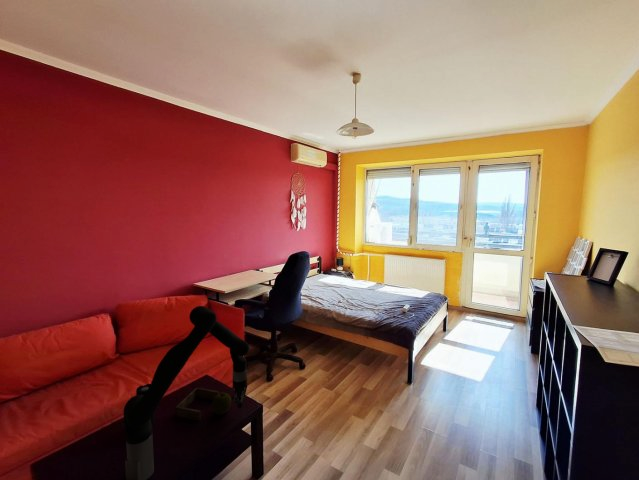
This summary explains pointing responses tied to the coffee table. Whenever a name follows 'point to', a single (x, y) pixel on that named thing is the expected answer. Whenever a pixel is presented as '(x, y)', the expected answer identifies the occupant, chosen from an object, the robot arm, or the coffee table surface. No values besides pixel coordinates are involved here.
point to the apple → (221, 403)
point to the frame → (197, 392)
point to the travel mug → (141, 391)
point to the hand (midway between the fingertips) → (240, 407)
